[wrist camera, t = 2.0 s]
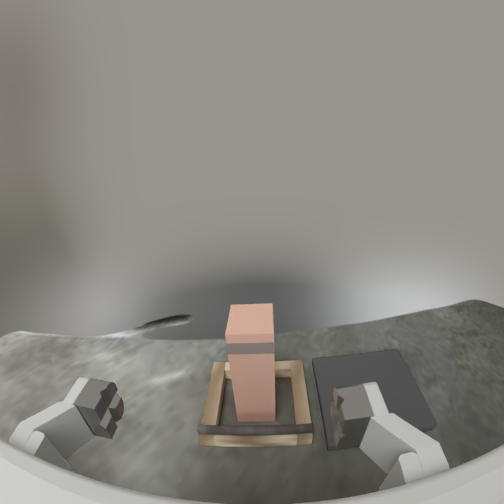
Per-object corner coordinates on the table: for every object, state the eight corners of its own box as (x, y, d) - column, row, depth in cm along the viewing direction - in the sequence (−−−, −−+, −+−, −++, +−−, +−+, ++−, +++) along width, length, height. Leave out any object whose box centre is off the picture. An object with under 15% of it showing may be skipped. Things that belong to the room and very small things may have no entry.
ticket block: (275, 389, 33) (273, 303, 29) (276, 421, 28) (274, 333, 24) (240, 389, 33) (230, 304, 29) (237, 421, 28) (224, 334, 24)
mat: (396, 353, 36) (397, 348, 36) (434, 428, 23) (436, 423, 23) (312, 362, 37) (312, 358, 36) (327, 450, 24) (328, 446, 23)
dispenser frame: (301, 368, 36) (302, 353, 35) (311, 444, 25) (313, 430, 24) (215, 370, 36) (212, 356, 36) (201, 445, 25) (196, 432, 24)
